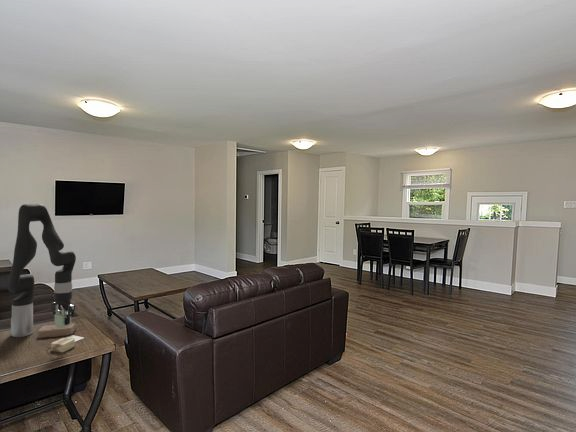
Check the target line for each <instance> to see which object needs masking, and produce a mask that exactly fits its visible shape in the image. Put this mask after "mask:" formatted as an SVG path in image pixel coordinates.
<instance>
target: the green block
mask: <svg viewBox="0 0 576 432" xmlns="http://www.w3.org/2000/svg"><path fill="white" fill-rule="evenodd" d="M70 314H71V313H70ZM67 315H68V313H67ZM71 323H72V316H71V317H70V323H69V324H68V325H65V316H64V314H63V312H62V313H58V314H54V325H55V327H60V328H63V327H66V326H69V325H71Z"/></svg>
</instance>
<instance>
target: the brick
mask: <svg viewBox="0 0 576 432" xmlns="http://www.w3.org/2000/svg"><path fill="white" fill-rule="evenodd" d="M76 327H77V324H76V323H75V322H71V325H69V326H66V327H63V328H60V327H55V324H48V325H43V326H41V328H39V329H38V331H37V338H38V339H41V338H51V337H62V336H63V337H65V336H71V335H74V333H75V331H76V330H77V328H76Z"/></svg>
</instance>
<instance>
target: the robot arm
mask: <svg viewBox="0 0 576 432" xmlns="http://www.w3.org/2000/svg"><path fill="white" fill-rule="evenodd" d="M31 222H33V223H34V222H40V223H41V224H42V227H43V229H42V234H41V240H42V242H43V244H44V245H45V247H46V248H47V250H48V251H47V252H48V255H49V260H50V263H51V264H52V265H53V266H55V267H62V268H61V269H59V270H56V271H55V273H54V286H53V287H54V288H53V289H54V291H53V293H54V294H53V300H54V302H51V304H50V305H51V311H52V314H53V315H55V314H58V313H62V312H63V314H64V316H65V325H68V324H69V323H70V317H71V318H72V317H73V316H74V314H75V311H76V310H75V309H76V305H75V304H72V303H71V301H72V299H73V281H72V280H73V278H72V275H73V270H74V267H75V264H76V260H77V259H76V254H75V253H74V251H72V250H64V251H61V250H63V249H64V247H65V244H64V242H63V241H62V239H61V237H60V236H59V234H58V232H57V231H56V228H55V226H54V224H53V220H52V219H51V215H50V214H49V210H48V209H47V206H45V204H42V203H26V204H24V203H23V204H21V206H20V207H19V209H18V216H17V234H16V239H15V246H14V251H13V260H12V265H11V270H10V273H9V277H8V281H7V289H8V292H9V293H11V294H18V293H21V294H20V295H18V296H17V297H14V298H13V299H12V300H11V317H10V335H11V337H12V338H23V337H28V336H30V335H31V334H33V333H34V296H35V295H34V293H35V277H34V276H33V274H31V273H28V274H27V273H26V274H22V272H23V271H24V269H25V268H26V267H27V265H29V264H30V263H31V261H32V260H33V259H34V258H35V257H36V254H37V248H38V243H37V240H36V238H35V236H34V235H33V234H32V232H31V231H30V223H31ZM67 313H68V315H67ZM70 313H71V314H70Z"/></svg>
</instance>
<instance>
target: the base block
mask: <svg viewBox="0 0 576 432" xmlns="http://www.w3.org/2000/svg"><path fill="white" fill-rule="evenodd" d="M75 343H76V342H75V339H68V338H66V337H62V338H61V337H60V339H57V340H55V341H53V342H51V343H50V351H51V352H58V353H65V352H66V351H68V350H70V349H72V348H74V347H75Z"/></svg>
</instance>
